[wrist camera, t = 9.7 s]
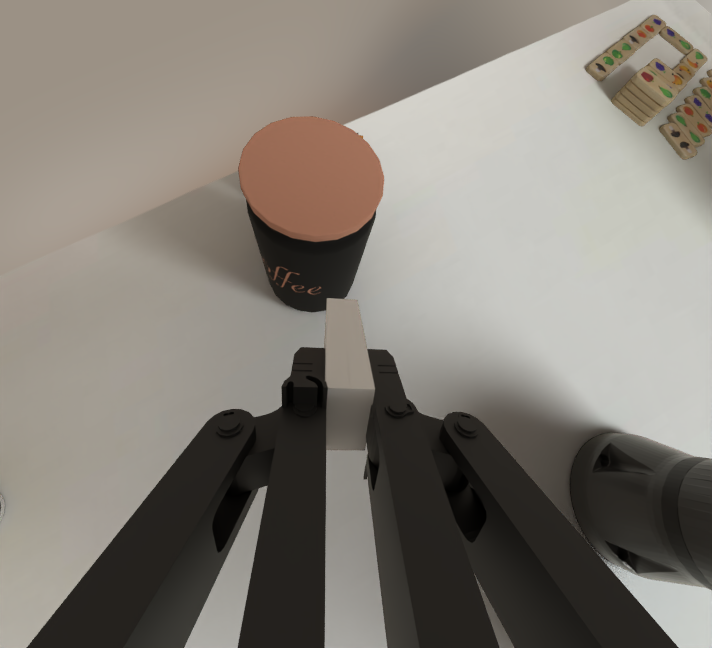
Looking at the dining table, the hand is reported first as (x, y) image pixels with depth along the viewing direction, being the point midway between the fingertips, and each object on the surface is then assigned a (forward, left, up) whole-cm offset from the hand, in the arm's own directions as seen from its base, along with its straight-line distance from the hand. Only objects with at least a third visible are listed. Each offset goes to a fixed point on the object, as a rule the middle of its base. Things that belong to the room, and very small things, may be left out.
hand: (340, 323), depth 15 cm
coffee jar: (+13, +2, -22) cm, 25 cm away
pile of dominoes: (+63, -69, -23) cm, 97 cm away
